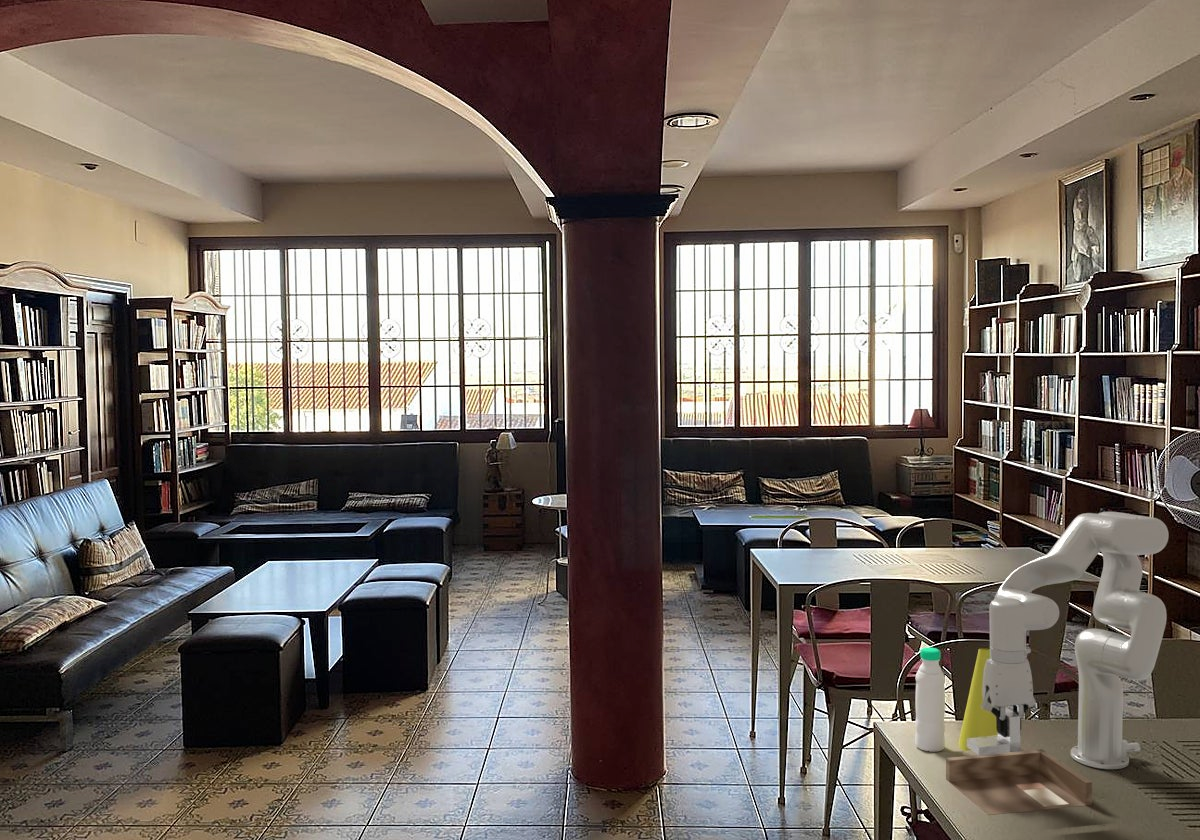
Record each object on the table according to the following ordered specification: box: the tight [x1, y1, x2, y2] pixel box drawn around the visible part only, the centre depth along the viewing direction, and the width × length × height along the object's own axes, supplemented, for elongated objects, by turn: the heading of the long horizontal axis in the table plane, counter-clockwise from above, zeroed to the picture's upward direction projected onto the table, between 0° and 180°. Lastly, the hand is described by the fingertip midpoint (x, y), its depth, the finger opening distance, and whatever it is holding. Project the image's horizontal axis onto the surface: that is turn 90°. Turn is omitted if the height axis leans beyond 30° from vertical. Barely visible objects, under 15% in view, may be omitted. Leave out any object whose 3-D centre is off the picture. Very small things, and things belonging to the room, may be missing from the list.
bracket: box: [967, 707, 1021, 756], centre depth 224 cm, size 10×5×8 cm, turn 99°
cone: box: [957, 648, 998, 752], centre depth 248 cm, size 12×12×25 cm
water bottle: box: [914, 646, 946, 753], centre depth 249 cm, size 7×7×25 cm
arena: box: [945, 749, 1093, 816], centre depth 222 cm, size 24×18×6 cm
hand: (1008, 733), depth 224 cm, fingers closed on bracket, 2 cm apart
